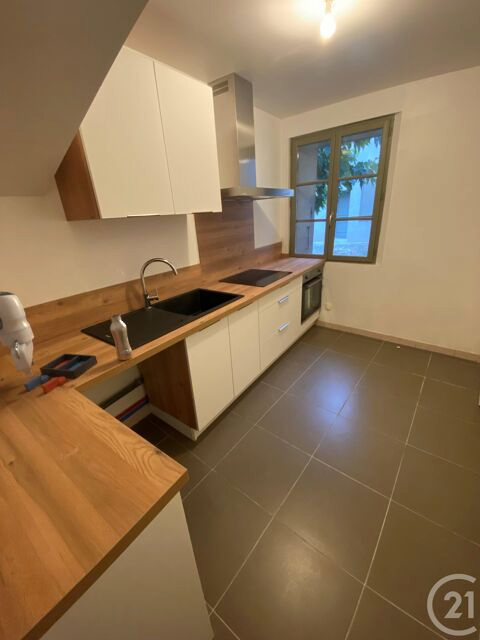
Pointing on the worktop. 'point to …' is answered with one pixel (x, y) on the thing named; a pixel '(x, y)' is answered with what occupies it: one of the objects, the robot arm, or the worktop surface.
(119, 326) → the plastic bottle
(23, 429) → the worktop surface
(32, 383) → the blue block
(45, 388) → the red block
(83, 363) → the organiser
